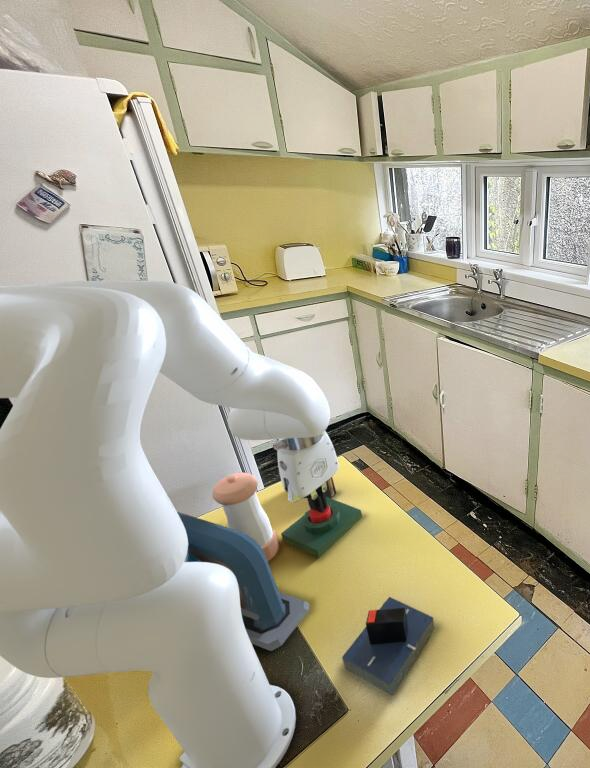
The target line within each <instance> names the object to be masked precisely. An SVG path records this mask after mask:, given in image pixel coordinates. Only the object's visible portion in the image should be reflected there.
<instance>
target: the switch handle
mask: <svg viewBox="0 0 590 768" xmlns="http://www.w3.org/2000/svg"><path fill="white" fill-rule="evenodd" d="M365 623H366V625H365V627H367V632H368V636H369V641H370V645H372V644H383V643H395V642H406V641H407V634H408V623H407V616H406V610H405V608H397V609H385V610H379V609H373V610H372V609H370V610H368V613H367V617H366V621H365Z"/></svg>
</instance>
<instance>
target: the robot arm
mask: <svg viewBox="0 0 590 768" xmlns="http://www.w3.org/2000/svg"><path fill="white" fill-rule="evenodd" d="M159 373H160V374H162V375H163V376H164V377H166V378H167V379H169V380H171V381H172V382H173V383H174V384H175V385H178V386H179V387H180V388H182V389H183V390H184V391H186V392H187V393H189V395H191V396H193V397H195V398H196V399H197V400H199V401H201V402H204V403H205V404H206V403H207V404H210V405H215V406H221V407H225V408H230V410H229V412H228V415H227V426H228V429H229V431H230V433H231V434H232V435H233V436H235V438H238V439H241V440H245V441H266V440H267V441H268V440H276V442H275V443H273V444H272V447H273V449H274V450H275V451H277V452H276V456H277V467H278V473H279V477H280V481H281V485H282V488H283V490H284V492H286V493H287V500H288V501H289V502H291V503H297V502H299V501H301V500H302V499H306V500H307V504H308V507H309V509H312V510H316V511H318V512H321V513H322V512H323V511H324V509H326V508H327V507H328V506H327V502H326V501H327V499H326V495H325V491H326V490H327V482H328V479H330V478H331V477H332V478H333V476H335V475H336V474H337V473H338V471H339V469H340V464H339V460H338V457H337V453H336V450H335V448H334V444H333V442H332V440H331V438H330V436H329V434H328V432H327V431H326V430H327V429H328V427H329V424H330V421H331V409H330V404H329V402H328V399H327V397H326V395H325V393H324V392H323V390H322V389H321V387H320V386H319V385H318V384H317V382H316V380H314V378H312V377H311V376H310V375H309V374H307V373H306V372H304V371H302V370H299V369H298V368H296V367H293V366H291V365H288V364H285V363H283V362H281V361H278V360H275V359H273V358H271V357H268V356H265V355H263V354H259V353H258V352H254V351H252V350H251V349H250V348H249V347H248V346H247V344H245V342H244V341H243V340H242V339H241V338H240V337H239V336H238V334H236V332H235V331H234V330H232V328H231V327H230V326H229V325H228V324H227V323H226V322H225V321H224V319H222V317H221V316H220V315H219V314H218V312H216V311H215V310H214V309H213V308H212V306H210V304H209V303H208V302H207V301H206V300H205V299H204V298H203V297H202V296H201V295H199V294H198V293H197V292H196V291H194V290H193V289H192V288H189V287H188V286H185V285H182V284H179V283H176V282H171V281H164V280H76V281H59V282H47V283H46V282H45V283H32V284H31V283H29V284H15V285H14V284H12V285H0V399H11V398H13V399H16V400H15V402H14V404H13V406H12V407H11V408H10V411H9V413H8V414H7V416H6V418H5V420H4V421H3V423H2V425H1V427H0V657H1V658H2V659H4V660H5V661H7V663H8V664H10V665H12V666H13V667H14V668H15V669H17V670H19V671H20V672H23V673H25V674H28V675H30V676H34V677H37V678H45V679H59V678H73V677H83V676H91V675H101V674H109V673H111V674H112V673H118V674H119V673H126V672H141V671H144V672H145V671H146V672H152V673H151V676H150V679H149V682H148V688H147V691H148V692H147V695H148V699H149V702H150V704H151V706H152V708H153V710H154V711H155V712H156V714H157V715H158V717H159V718H160V719H161V720H162V722H163V723H164V725H165V726H166V727H167V729H168V730H169V732H170V733H171V734H172V736H173V737H174V739H175V740H176V742H177V743H178V745H179V746H180V747H181V749H182V750H183V752H182V754H181V755H180V756H179V760H180V762H181V763H182V766H181V767H180V768H276V767H277V766H278V765H279V763H281V761H282V759H283V757H284V756H285V754H286V753H287V750H288V749H289V746H290V744H291V741H292V739H293V736H294V733H295V729H296V721H297V713H296V707H295V704H294V701H293V699H292V698H291V696H290V694H289V693H288V692H287V691H286V690H285V689H283V688H281V687H279V686H276V685H272V684H270V683H269V682H270V681H269V680H268V678H267V675H266V673H265V671H264V669H263V666H262V664H261V662H260V660H259V657H258V655H257V653H256V651H255V649H254V646H253V644H252V643H251V641H250V639H249V637H248V634H247V632H246V629H245V626H244V623H243V619H242V614H241V607H240V595H239V587H238V582H237V579H236V577H235V575H234V574H233V572H232V571H231V570H229V569H228V568H226V567H224V566H222V565H219V564H215V563H208V562H184V561H185V559H186V556H187V550H188V538H187V533H186V530H185V527H184V525H183V523H182V521H181V519H180V517H179V515H178V513H177V512H178V511H177V510H176V507H175V506H174V504H173V503H172V500H171V499H170V498H169V496H168V494H167V492H166V490H165V489H164V487H163V485H162V484H161V482H160V480H159V478H158V476H157V475H156V473H155V471H154V470H153V467H152V466H151V464H150V462H149V460H148V458H147V455H146V454H145V452H144V449H143V447H142V443H141V424H142V421H143V416H144V412H145V409H146V406H147V404H148V401H149V398H150V396H151V392H152V390H153V387H154V385H155V382H156V380H157V377H158V375H159Z"/></svg>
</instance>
